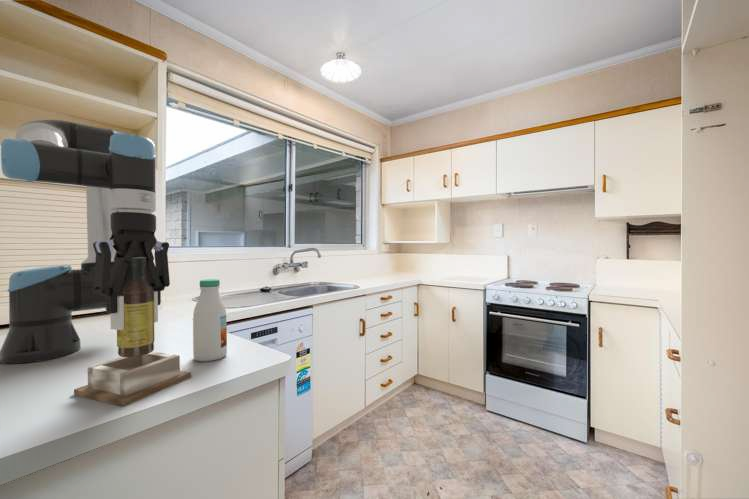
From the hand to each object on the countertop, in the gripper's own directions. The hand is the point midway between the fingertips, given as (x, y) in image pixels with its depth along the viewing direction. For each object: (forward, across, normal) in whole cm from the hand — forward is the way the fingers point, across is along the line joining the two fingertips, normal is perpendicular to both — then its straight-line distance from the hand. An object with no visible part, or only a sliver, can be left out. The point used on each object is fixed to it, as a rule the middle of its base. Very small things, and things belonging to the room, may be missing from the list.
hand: (135, 324), depth 67 cm
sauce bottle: (+6, 0, 0) cm, 6 cm away
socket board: (+12, 0, 0) cm, 12 cm away
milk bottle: (+13, +18, 0) cm, 22 cm away
